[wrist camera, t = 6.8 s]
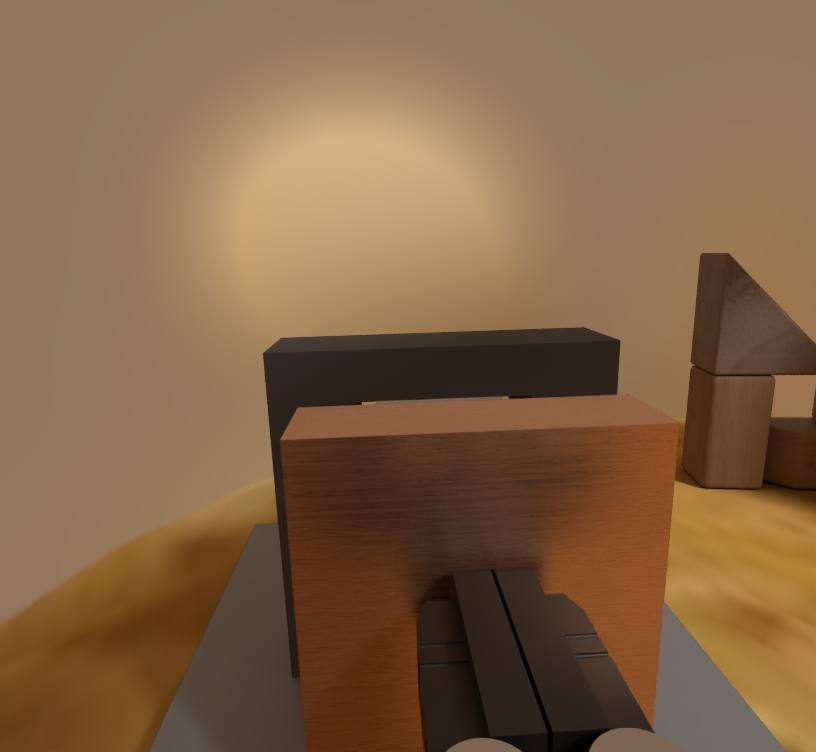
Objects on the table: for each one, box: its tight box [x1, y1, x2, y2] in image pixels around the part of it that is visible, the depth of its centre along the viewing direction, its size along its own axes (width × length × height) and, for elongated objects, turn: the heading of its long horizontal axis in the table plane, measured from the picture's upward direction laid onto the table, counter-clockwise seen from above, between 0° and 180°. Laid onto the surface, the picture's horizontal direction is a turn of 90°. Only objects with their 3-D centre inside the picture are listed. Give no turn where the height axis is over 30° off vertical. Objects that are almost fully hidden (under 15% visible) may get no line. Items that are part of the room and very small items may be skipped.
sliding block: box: [280, 394, 680, 752], centre depth 17 cm, size 7×14×7 cm, turn 3°
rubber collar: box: [263, 327, 620, 678], centre depth 17 cm, size 10×3×10 cm, turn 93°
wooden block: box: [682, 253, 816, 489], centre depth 32 cm, size 4×11×18 cm, turn 84°
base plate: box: [149, 524, 786, 752], centre depth 19 cm, size 17×17×2 cm
